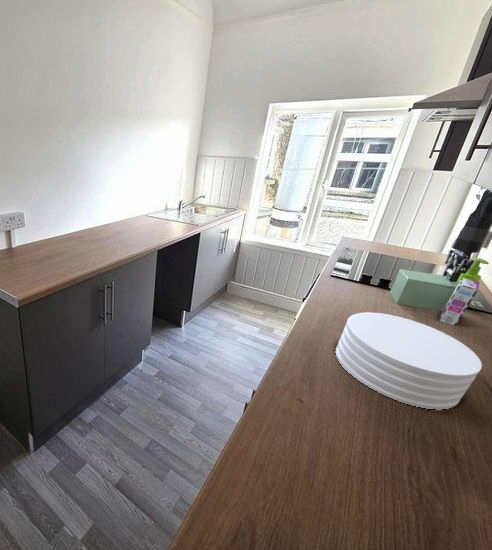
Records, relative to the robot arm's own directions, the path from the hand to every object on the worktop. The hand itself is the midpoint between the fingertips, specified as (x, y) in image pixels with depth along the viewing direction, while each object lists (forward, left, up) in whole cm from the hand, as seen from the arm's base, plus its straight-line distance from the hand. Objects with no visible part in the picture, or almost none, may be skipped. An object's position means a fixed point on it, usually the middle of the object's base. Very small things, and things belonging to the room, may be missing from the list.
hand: (449, 278), depth 119 cm
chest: (+6, 0, -13) cm, 14 cm away
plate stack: (+27, +59, -13) cm, 67 cm away
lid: (+6, 0, -2) cm, 6 cm away
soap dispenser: (-10, -10, -13) cm, 19 cm away
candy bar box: (0, +13, -13) cm, 19 cm away
